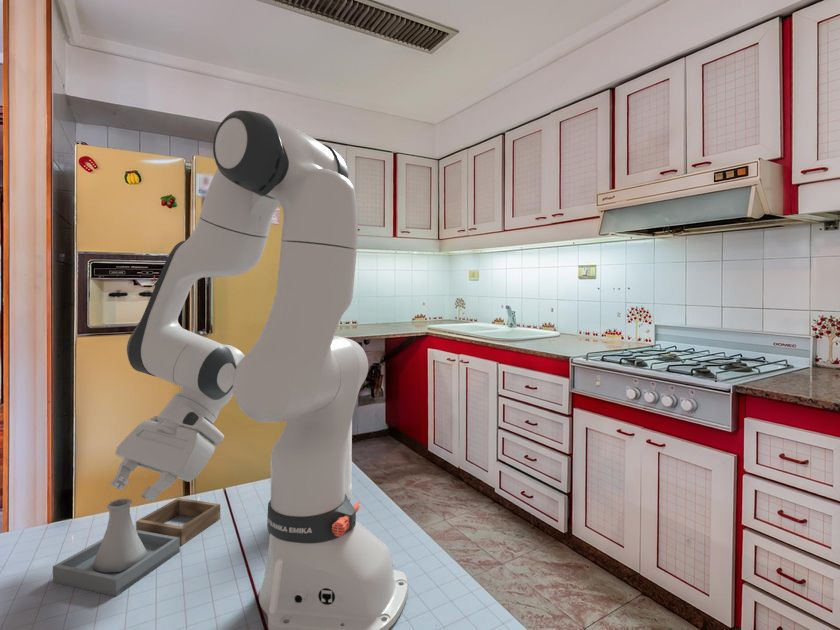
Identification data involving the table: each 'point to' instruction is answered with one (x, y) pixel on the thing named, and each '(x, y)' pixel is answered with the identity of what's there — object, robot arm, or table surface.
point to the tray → (114, 583)
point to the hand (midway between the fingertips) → (130, 493)
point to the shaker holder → (198, 509)
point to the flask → (119, 540)
